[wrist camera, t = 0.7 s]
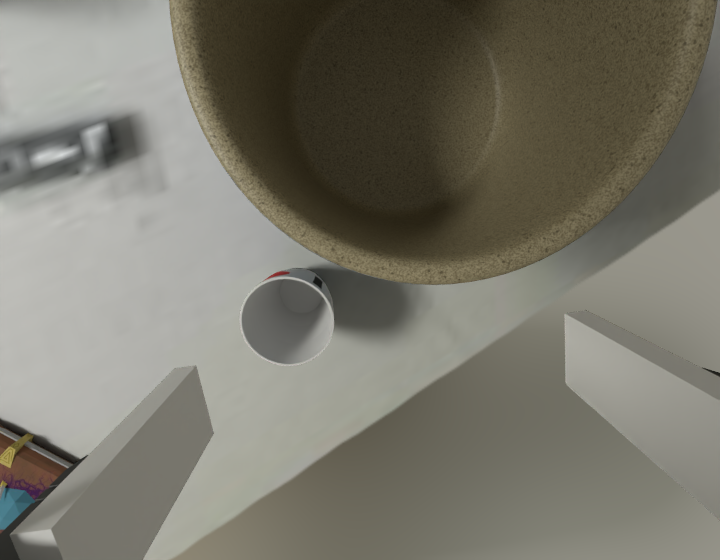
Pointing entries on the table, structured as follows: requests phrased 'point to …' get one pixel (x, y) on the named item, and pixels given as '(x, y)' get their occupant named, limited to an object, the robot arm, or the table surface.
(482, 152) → the planter
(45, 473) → the book
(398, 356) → the table surface
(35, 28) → the table surface
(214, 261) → the table surface
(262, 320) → the cup
